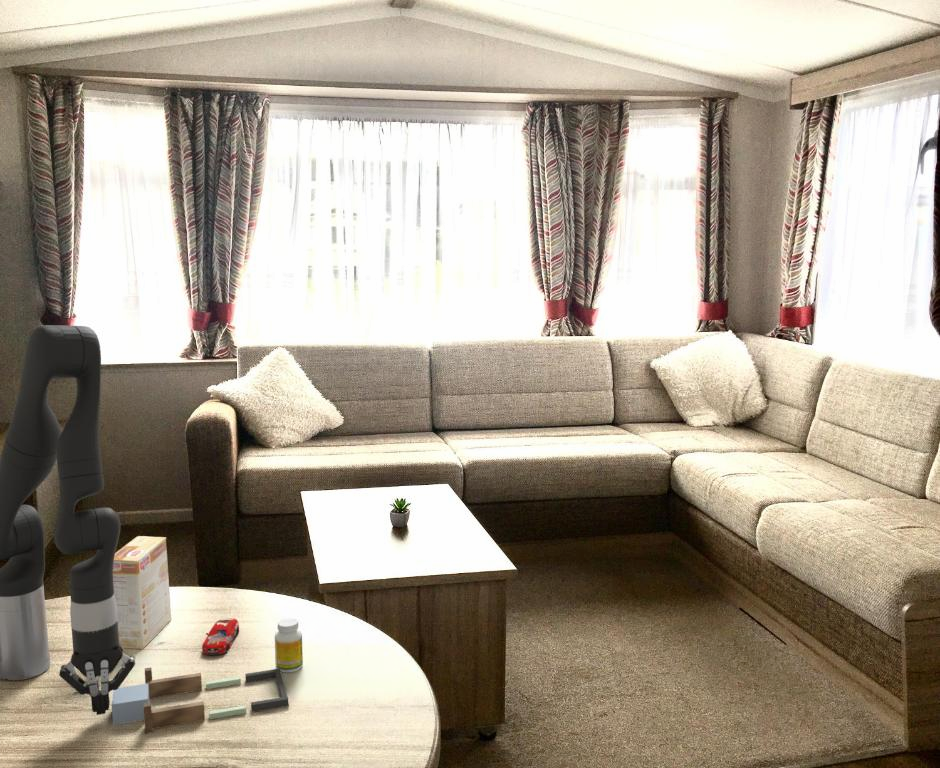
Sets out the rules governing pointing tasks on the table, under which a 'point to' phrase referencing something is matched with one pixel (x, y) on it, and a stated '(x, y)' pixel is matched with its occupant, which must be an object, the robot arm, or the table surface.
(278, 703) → the frame
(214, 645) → the race car
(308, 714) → the table surface
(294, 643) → the supplement bottle
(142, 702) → the block
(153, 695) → the channel
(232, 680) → the rails
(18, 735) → the table surface
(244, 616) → the table surface
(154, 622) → the coffeecake box
